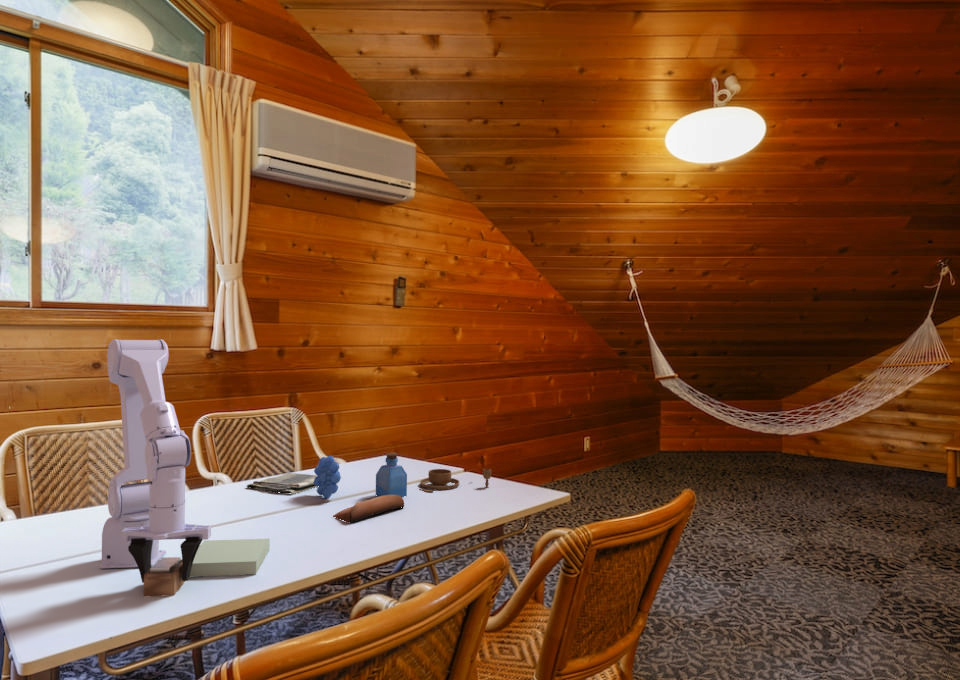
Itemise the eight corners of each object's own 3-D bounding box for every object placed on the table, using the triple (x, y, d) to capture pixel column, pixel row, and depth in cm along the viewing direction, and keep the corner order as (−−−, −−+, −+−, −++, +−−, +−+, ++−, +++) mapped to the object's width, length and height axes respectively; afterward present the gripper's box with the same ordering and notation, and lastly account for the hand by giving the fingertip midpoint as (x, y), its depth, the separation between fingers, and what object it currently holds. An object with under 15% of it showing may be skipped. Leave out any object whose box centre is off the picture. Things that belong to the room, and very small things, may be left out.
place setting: (442, 479, 198) (443, 460, 198) (494, 488, 186) (494, 469, 186) (406, 489, 183) (406, 469, 183) (459, 500, 172) (459, 479, 172)
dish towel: (289, 477, 196) (289, 467, 196) (333, 484, 189) (334, 473, 189) (244, 490, 180) (244, 479, 180) (291, 498, 172) (291, 486, 172)
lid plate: (150, 576, 107) (150, 568, 107) (162, 565, 112) (162, 557, 112) (169, 576, 107) (169, 567, 107) (180, 565, 112) (180, 557, 112)
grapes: (351, 499, 170) (352, 456, 170) (330, 503, 165) (331, 459, 165) (328, 491, 178) (329, 450, 178) (307, 495, 173) (308, 453, 173)
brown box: (143, 598, 106) (143, 575, 106) (158, 581, 113) (158, 560, 113) (174, 596, 106) (174, 573, 106) (187, 580, 113) (187, 559, 113)
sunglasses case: (382, 502, 167) (391, 483, 165) (398, 520, 163) (407, 500, 161) (329, 517, 153) (338, 496, 151) (344, 537, 149) (354, 516, 147)
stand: (183, 577, 114) (183, 563, 114) (204, 552, 127) (204, 540, 127) (256, 574, 116) (256, 561, 116) (269, 550, 129) (269, 538, 129)
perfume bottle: (406, 496, 174) (407, 454, 174) (389, 500, 169) (390, 457, 169) (392, 492, 178) (393, 451, 178) (375, 496, 174) (376, 453, 174)
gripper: (113, 511, 104) (112, 590, 105) (203, 509, 107) (202, 586, 107) (130, 500, 111) (129, 574, 112) (214, 498, 114) (213, 571, 114)
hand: (166, 579), depth 110 cm, fingers open, 6 cm apart
